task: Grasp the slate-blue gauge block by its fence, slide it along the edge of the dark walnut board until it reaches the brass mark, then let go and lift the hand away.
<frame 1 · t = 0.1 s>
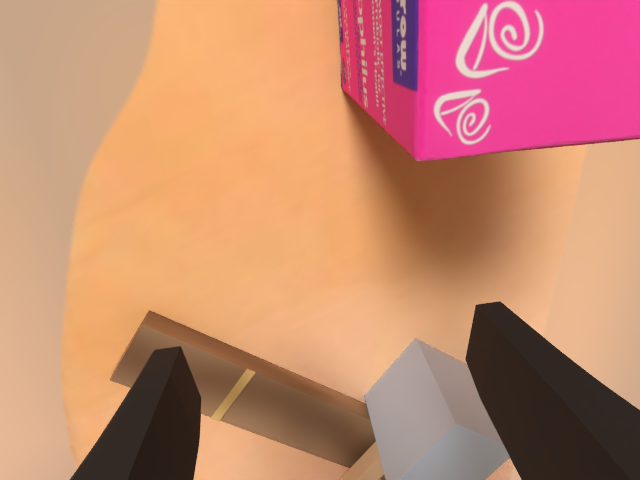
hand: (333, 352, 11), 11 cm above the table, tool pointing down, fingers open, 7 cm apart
board: (307, 408, 26), on the table
supplement box: (401, 10, 17), on the table
gauge: (414, 379, 26), on the table
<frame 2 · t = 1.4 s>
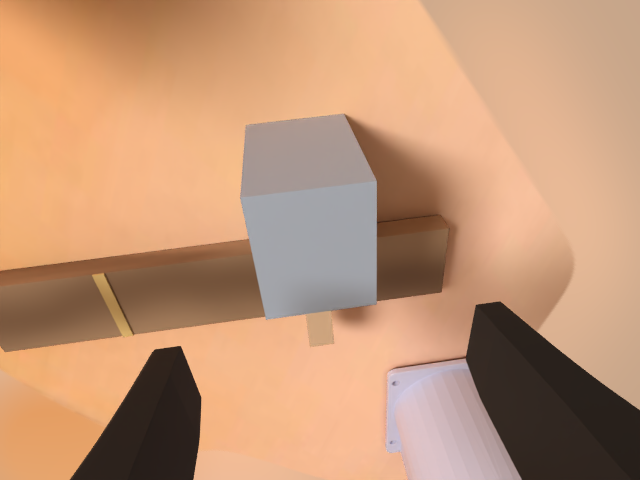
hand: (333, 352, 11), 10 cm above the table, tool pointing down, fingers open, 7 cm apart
board: (222, 276, 21), on the table
gauge: (301, 174, 19), on the table
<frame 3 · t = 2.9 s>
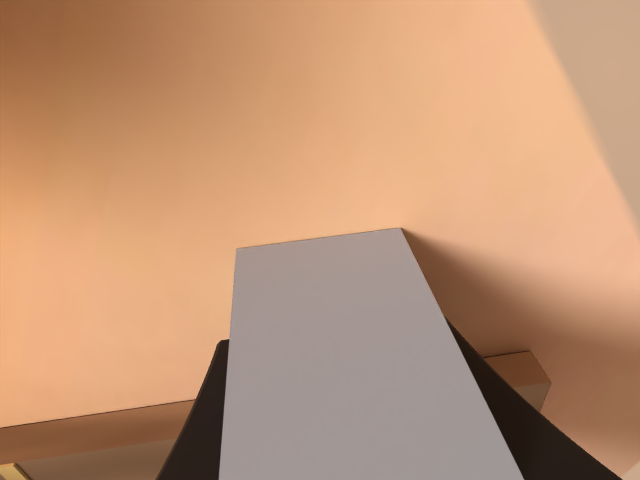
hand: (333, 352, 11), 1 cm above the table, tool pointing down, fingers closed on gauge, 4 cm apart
board: (204, 435, 14), on the table
gauge: (326, 312, 12), on the table, touching gripper
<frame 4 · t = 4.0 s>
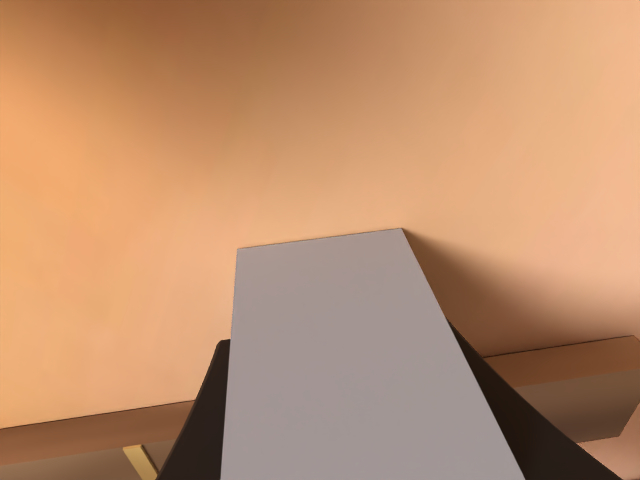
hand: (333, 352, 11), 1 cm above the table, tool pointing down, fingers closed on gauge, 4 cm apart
board: (307, 420, 15), on the table
gauge: (326, 312, 12), on the table, touching gripper
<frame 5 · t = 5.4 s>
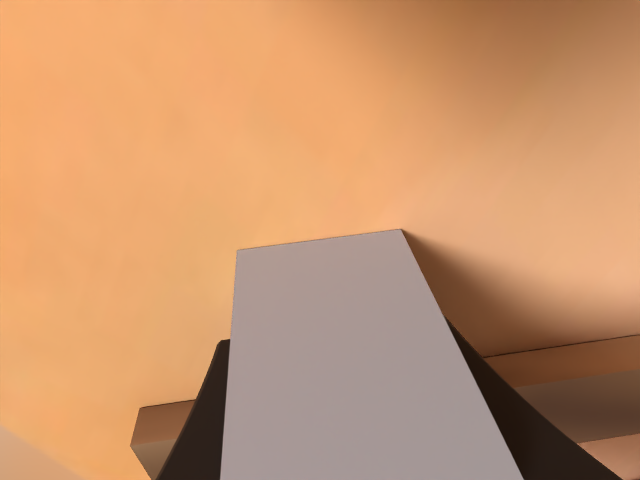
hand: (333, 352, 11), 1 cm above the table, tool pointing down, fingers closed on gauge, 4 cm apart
board: (476, 394, 15), on the table
gauge: (326, 313, 12), on the table, touching gripper
when the fingers open (2 cm above the table, at t = 6.2 s): gauge stays where it is, on the table.
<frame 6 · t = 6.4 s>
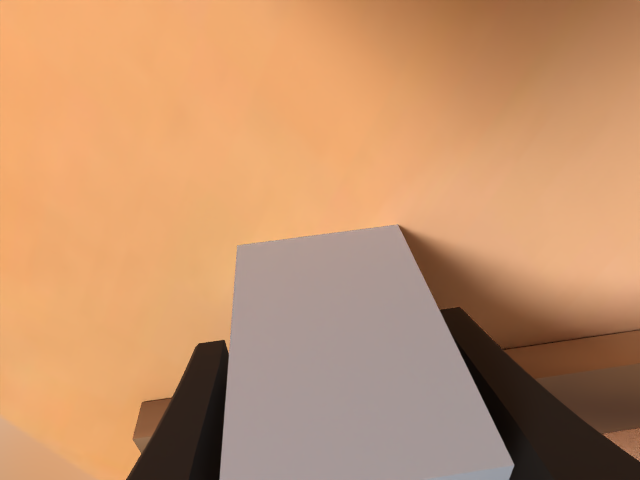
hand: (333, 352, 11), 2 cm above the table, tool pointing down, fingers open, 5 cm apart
board: (474, 390, 15), on the table
gauge: (325, 307, 12), on the table
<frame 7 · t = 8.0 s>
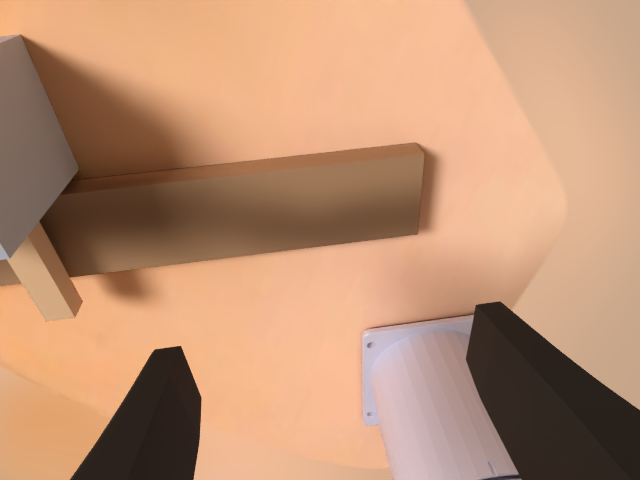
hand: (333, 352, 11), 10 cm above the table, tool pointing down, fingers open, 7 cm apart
board: (170, 212, 19), on the table
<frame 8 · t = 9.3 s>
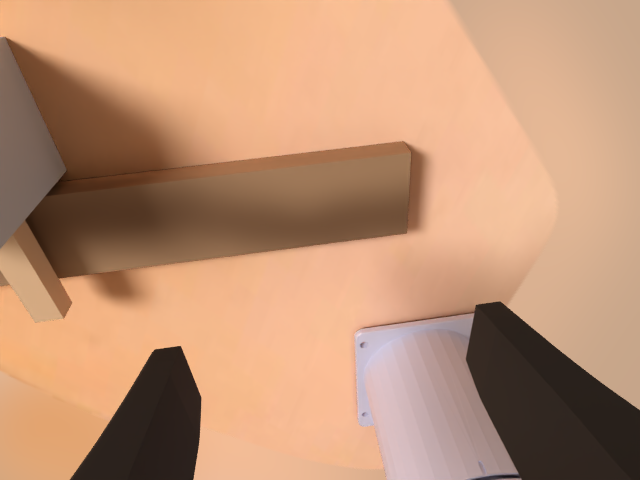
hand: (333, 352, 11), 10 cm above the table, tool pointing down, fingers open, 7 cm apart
board: (158, 212, 19), on the table
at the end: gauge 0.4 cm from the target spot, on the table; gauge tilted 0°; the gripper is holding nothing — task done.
